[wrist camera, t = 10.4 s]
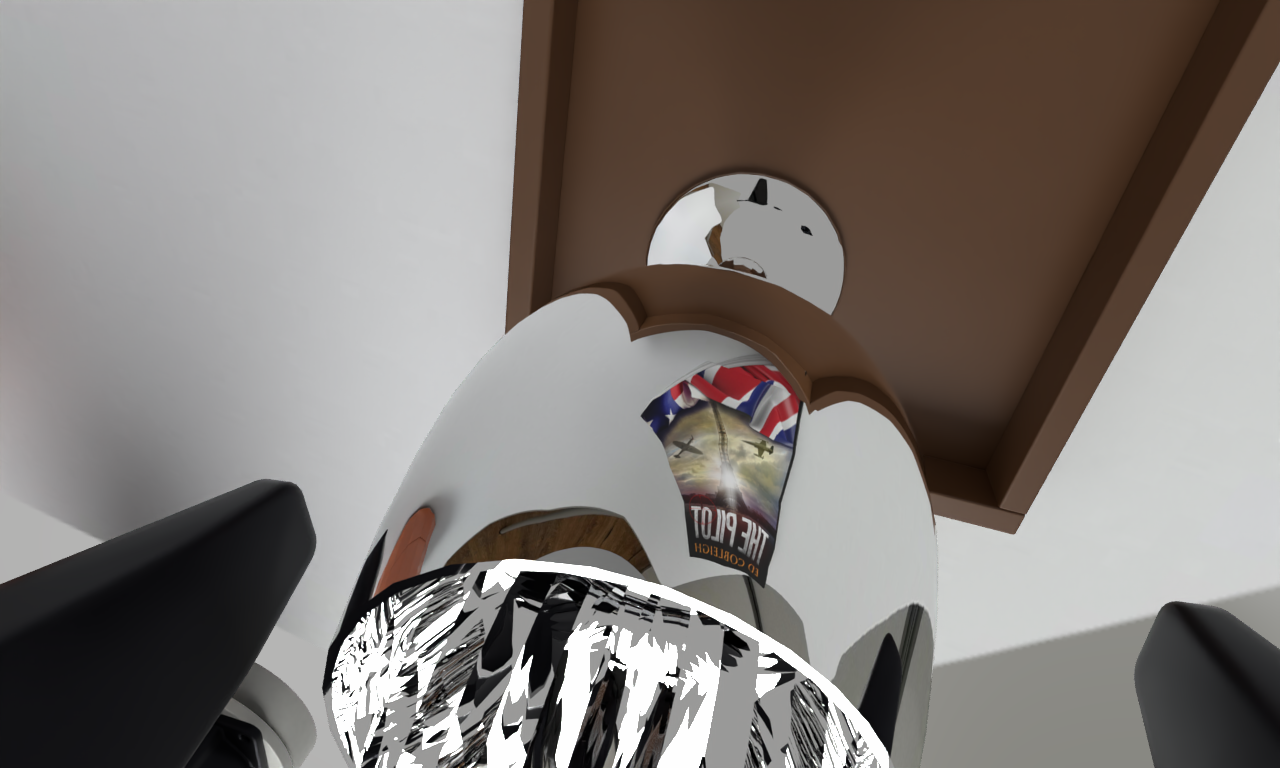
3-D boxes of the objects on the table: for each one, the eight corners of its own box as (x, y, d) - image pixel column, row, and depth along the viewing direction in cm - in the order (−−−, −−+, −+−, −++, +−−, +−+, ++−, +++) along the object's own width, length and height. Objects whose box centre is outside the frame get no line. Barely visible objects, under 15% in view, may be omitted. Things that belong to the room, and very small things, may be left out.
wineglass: (588, 171, 15) (124, 515, 5) (861, 108, 14) (979, 444, 3) (651, 398, 18) (420, 941, 8) (890, 370, 16) (1011, 1031, 6)
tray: (995, 480, 17) (1015, 535, 16) (530, 365, 19) (500, 403, 17) (1341, -193, 11) (1445, -231, 9) (582, -290, 12) (541, -339, 10)
